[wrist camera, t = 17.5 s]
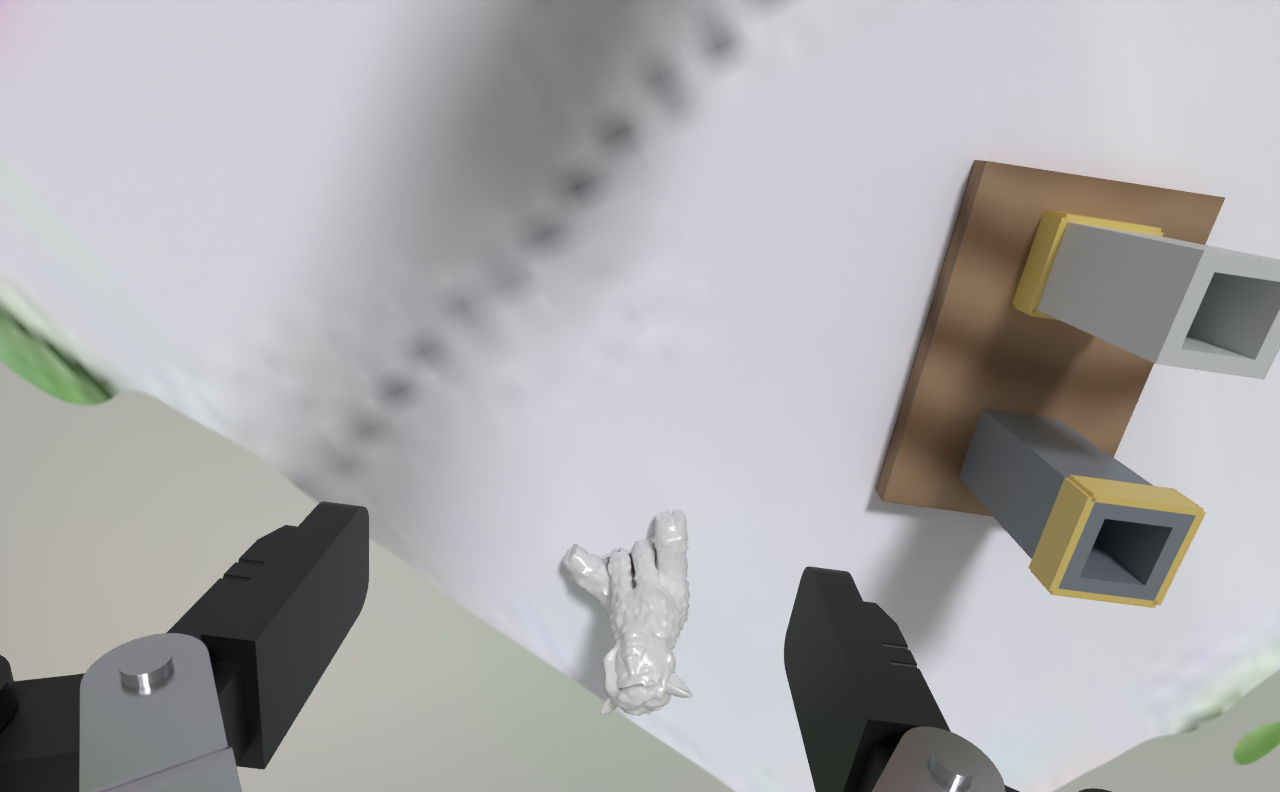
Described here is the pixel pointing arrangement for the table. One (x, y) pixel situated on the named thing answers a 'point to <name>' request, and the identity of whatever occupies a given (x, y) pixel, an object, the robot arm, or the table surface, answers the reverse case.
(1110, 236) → the seated sleeve
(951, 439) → the pin board
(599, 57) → the table surface
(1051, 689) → the table surface
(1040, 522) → the sleeve
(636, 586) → the white creature statuette
